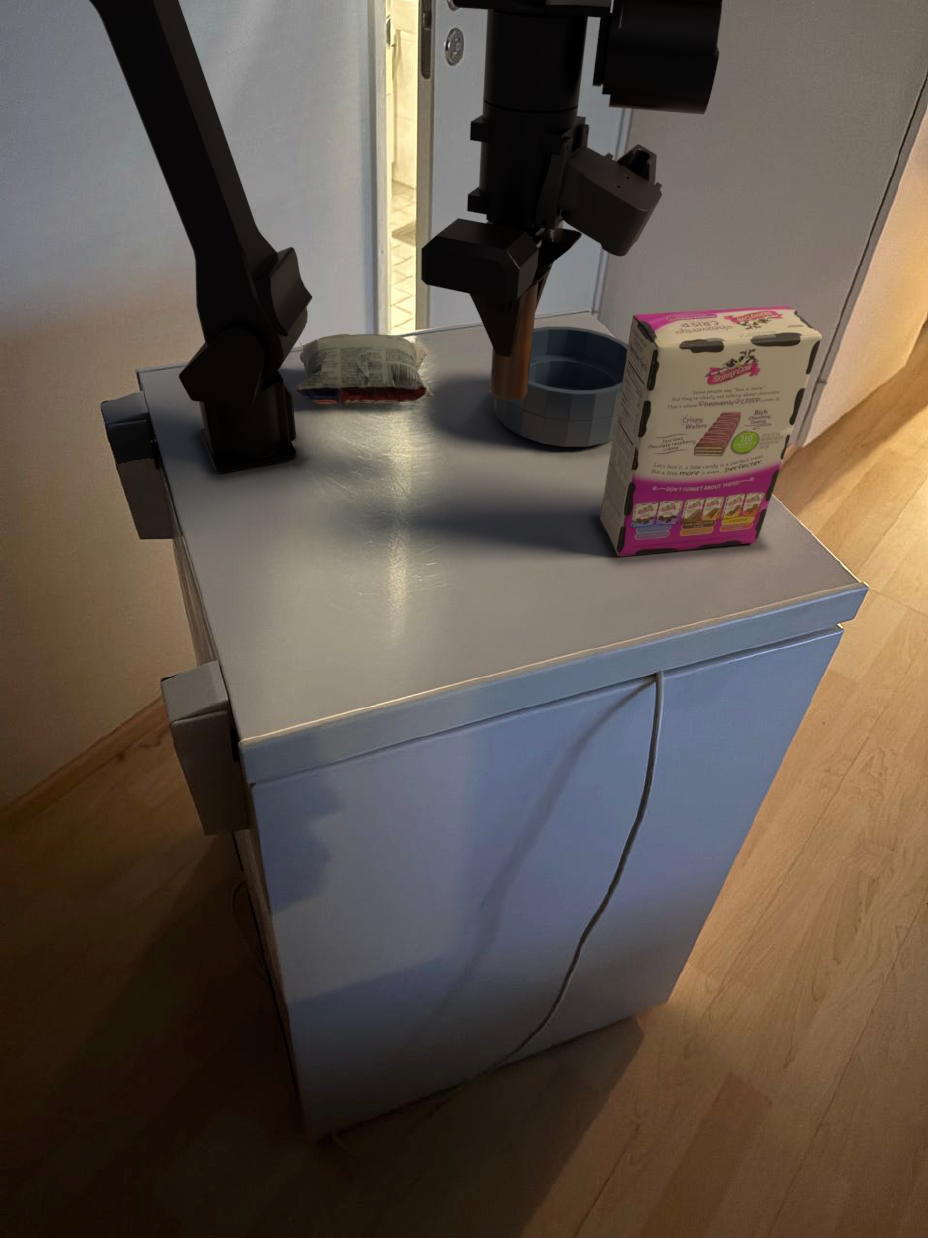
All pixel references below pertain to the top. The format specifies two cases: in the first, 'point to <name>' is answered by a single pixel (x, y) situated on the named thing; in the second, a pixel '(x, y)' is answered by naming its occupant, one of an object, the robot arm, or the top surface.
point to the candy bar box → (703, 426)
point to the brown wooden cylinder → (516, 357)
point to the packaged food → (362, 369)
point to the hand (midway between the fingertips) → (511, 346)
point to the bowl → (568, 388)
